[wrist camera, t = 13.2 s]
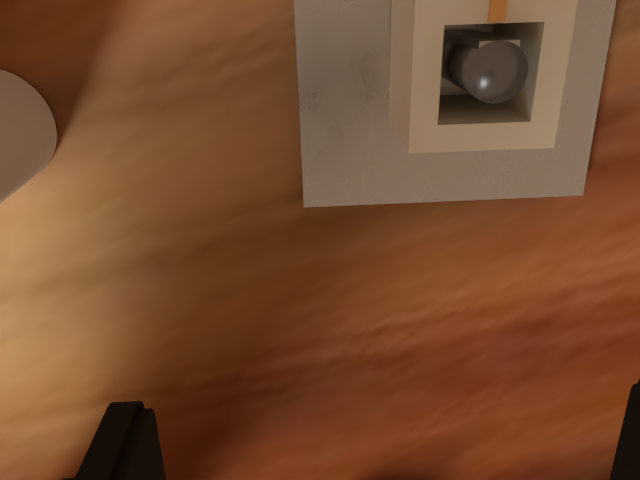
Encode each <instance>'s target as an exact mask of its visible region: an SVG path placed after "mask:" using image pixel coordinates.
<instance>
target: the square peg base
mask: <svg viewBox="0 0 640 480" xmlns="http://www.w3.org/2000/svg"><path fill="white" fill-rule="evenodd" d="M615 6H616V0H578V4H577V10H576V16H575V22H574V28H573V34H572V40H571V47H570V53H569V59H568V65H567V71H566V77H565V83H564V89H563V95H562V101H561V108H560V114H559V120H558V126H557V132H556V138H555V144H554V148H539V149H512V150H486V151H459V152H432V153H408V152H407V150H406V148H405V147H404V145H403V143H402V142H401V140H400V138H399V137H398V135H397V133H396V131H395V130H394V128H393V126H392V125H391V123H390V121H389V83H390V46H391V9H392V0H294V17H295V38H296V58H297V79H298V99H299V120H300V140H301V161H302V181H303V201H304V207H327V206H350V205H373V204H396V203H420V202H443V201H466V200H489V199H512V198H535V197H559V196H582V195H583V192H584V186H585V180H586V174H587V168H588V163H589V157H590V151H591V145H592V139H593V134H594V128H595V122H596V116H597V110H598V105H599V99H600V93H601V87H602V81H603V76H604V70H605V64H606V58H607V52H608V47H609V41H610V35H611V29H612V24H613V18H614V12H615ZM494 28H495V23H493V24H463V25H444V38H443V53H442V68H441V82H440V95H459V94H471V95H473V96H474V97H476V98H478V99H479V100H481V101H483V102H486V103H490V104H497V103H502V102H505V101H507V100H509V99H511V98H512V97H514V96H515V95H516V94H517V93H518V92H519V91H520V90H521V88H522V87H523V85H524V83H525V81H526V78H527V74H528V62H527V58H526V56H525V54H524V52H523V51H522V49H521V48H520V40H519V39H515V38H510V37H506V36H501V35H497V34H494Z"/></svg>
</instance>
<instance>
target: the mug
mask: <svg viewBox="0 0 640 480" xmlns="http://www.w3.org/2000/svg"><path fill="white" fill-rule="evenodd" d="M56 144H57V129H56V124H55V120H54V117H53V114H52V112H51V110H50V108H49V106H48V104H47V103H46V101H45V100H44V99H43V97H42V96H41V95H40V94H39V93H38V91H37V90H36V89H35V88H33V87H32V86H31V85H30V84H29V83H27V82H26V81H25V80H23V79H22V78H20V77H18V76H16V75H14V74H12V73H10V72H7V71H4V70H1V69H0V203H1V202H2V201H4V200H5V199H6V198H8V197H9V196H10V195H12V194H13V193H14V192H16V191H17V190H18V189H19V188H21V187H22V186H23V185H24V184H25V183H27V182H28V181H29V180H30V179H32V178H33V177H34V176H36V175H37V174H38V173H40V172H41V171H42V170H43V169H44V168H45V167H46V166H47V165H48V163H49V162H50V160H51V159H52V157H53V154H54V152H55V148H56Z"/></svg>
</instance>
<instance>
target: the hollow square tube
mask: <svg viewBox="0 0 640 480" xmlns="http://www.w3.org/2000/svg"><path fill="white" fill-rule="evenodd" d="M577 4H578V0H392V9H391V46H390V83H389V121H390V123H391V125H392V126H393V128H394V130H395V131H396V133H397V135H398V137H399V138H400V140H401V142H402V143H403V145H404V147H405V148H406V150H407V152H408V153H432V152H459V151H486V150H512V149H539V148H554V144H555V138H556V132H557V126H558V120H559V114H560V108H561V101H562V95H563V89H564V83H565V77H566V71H567V65H568V59H569V53H570V47H571V40H572V34H573V28H574V22H575V16H576V10H577ZM493 23H495V28H494V34H497V35H501V36H506V37H510V38H515V39H519V40H520V48H521V49H522V51H523V52H524V54H525V56H526V58H527V62H528V74H527V78H526V81H525V83H524V85H523V87H522V88H521V90H520V91H519V92H518V93H517V94H516V95H515V96H514V97H512V98H511V99H509V100H507V101H505V102H502V103H497V104H490V103H486V102H483V101H481V100H479V99H478V98H476V97H474V96H473V95H471V94H459V95H440V82H441V68H442V53H443V38H444V25H463V24H493Z"/></svg>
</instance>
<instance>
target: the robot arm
mask: <svg viewBox="0 0 640 480" xmlns="http://www.w3.org/2000/svg"><path fill="white" fill-rule="evenodd" d="M62 480H166V478H165V472H164V466H163V460H162V454H161V448H160V442H159V437H158V431H157V425H156V419H155V413H154V410H153V409H152V408H148V409H145V407H144V404H143V402H141V401H132V402H112V403H110V404H109V406H108V407H107V410H106V412H105V414H104V416H103V418H102V420H101V423H100V425H99V427H98V429H97V431H96V434H95V436H94V438H93V440H92V442H91V444H90V447H89V449H88V451H87V453H86V455H85V457H84V460H83V462H82V464H81V466H80V468H79V471H78V473H77V475H76V477H75V478H68V479H62ZM609 480H640V379H639V381H638V383H637V384H634V385H633V386H632V388H631V390H630V395H629V399H628V403H627V407H626V412H625V416H624V420H623V424H622V429H621V433H620V437H619V441H618V445H617V450H616V454H615V458H614V462H613V467H612V471H611V475H610V479H609Z"/></svg>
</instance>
